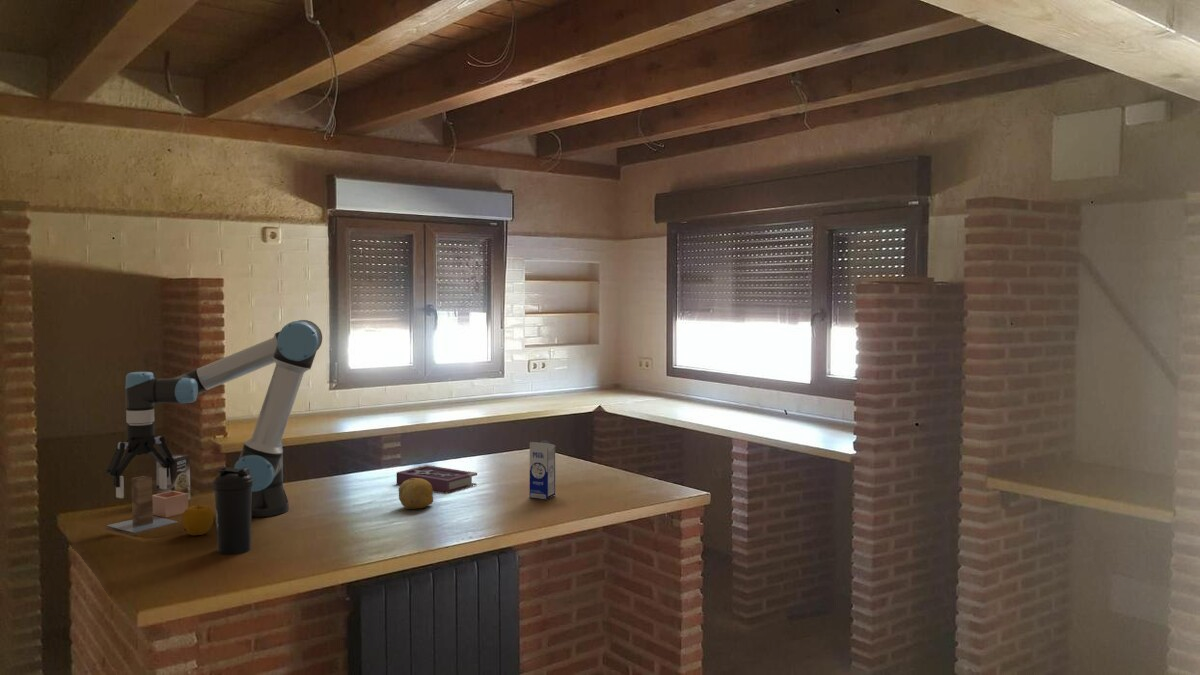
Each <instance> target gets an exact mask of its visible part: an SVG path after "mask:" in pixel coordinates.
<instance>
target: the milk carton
mask: <svg viewBox="0 0 1200 675" xmlns="http://www.w3.org/2000/svg"><path fill="white" fill-rule="evenodd" d="M553 495H555V496H556V445H555V444H552V443H550V441H549V440H544V439H543V440H542V439H541V440H540V442H537V441H529V498H530V497H532V498H531V499H534V498H541V499H540V500H543V499H548V498H550V497H551V496H553ZM542 498H543V499H542ZM550 499H551V498H550ZM548 500H549V499H548Z"/></svg>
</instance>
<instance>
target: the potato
mask: <svg viewBox="0 0 1200 675" xmlns="http://www.w3.org/2000/svg"><path fill="white" fill-rule="evenodd" d="M433 493H434V491H433V488H432V485H431V484H430V483H429V482H428V481H427V480H425V479H421V478H411V479H408V480H406V481H404V482H403V483H402V484H401V485H400V486H399V487H398V499H399V502H400V503H401V505H402V506H403V507H404V508H405V509H409V510H417V509H423V508H426V507H428V506H430V505H432V504H433V503H434V496H433Z"/></svg>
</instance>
